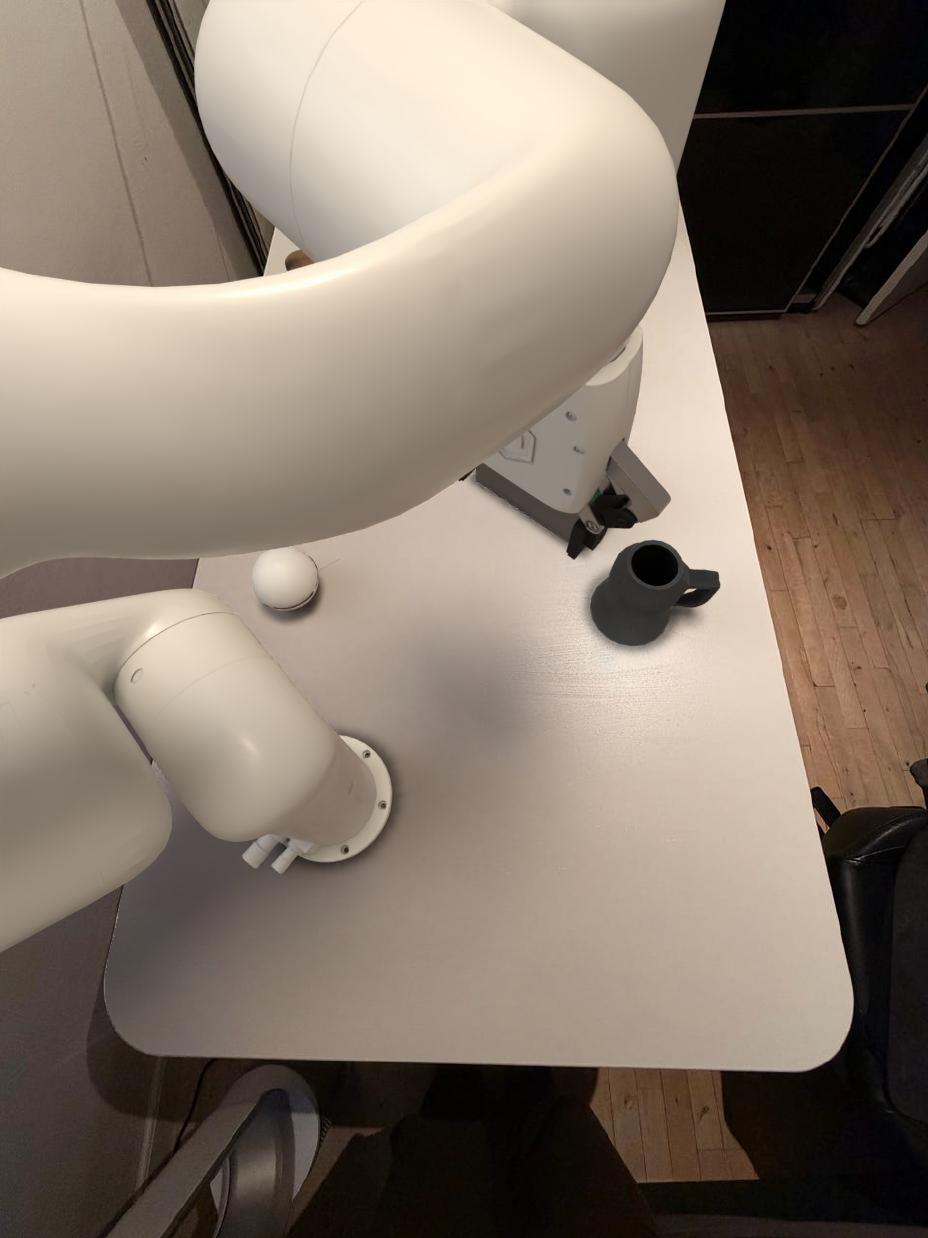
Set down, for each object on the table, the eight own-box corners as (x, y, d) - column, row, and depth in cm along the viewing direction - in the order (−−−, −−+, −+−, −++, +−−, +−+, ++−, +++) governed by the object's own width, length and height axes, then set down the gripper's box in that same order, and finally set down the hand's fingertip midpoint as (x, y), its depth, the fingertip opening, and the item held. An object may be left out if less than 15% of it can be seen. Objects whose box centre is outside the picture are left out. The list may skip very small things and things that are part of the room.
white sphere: (264, 626, 73) (243, 600, 67) (261, 569, 76) (240, 539, 69) (350, 612, 74) (338, 585, 67) (344, 556, 77) (331, 524, 70)
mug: (591, 644, 72) (611, 604, 61) (588, 572, 75) (607, 522, 65) (698, 648, 71) (736, 608, 61) (691, 575, 75) (725, 526, 65)
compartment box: (581, 552, 76) (591, 522, 70) (475, 479, 81) (475, 445, 74) (622, 504, 79) (634, 471, 73) (517, 436, 83) (520, 400, 77)
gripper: (352, 250, 29) (395, 473, 45) (676, 445, 25) (597, 616, 40) (457, 166, 31) (463, 407, 47) (773, 331, 27) (662, 536, 43)
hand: (525, 503), depth 44 cm, fingers open, 9 cm apart
